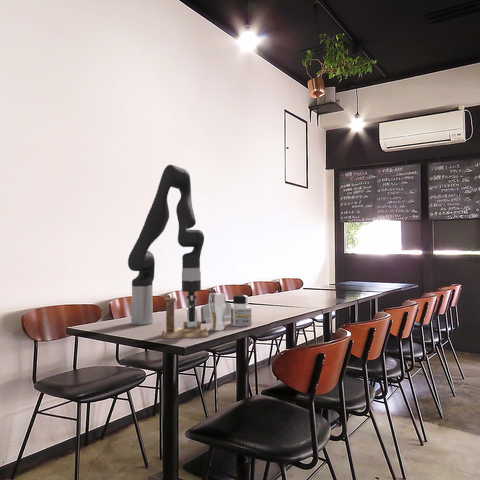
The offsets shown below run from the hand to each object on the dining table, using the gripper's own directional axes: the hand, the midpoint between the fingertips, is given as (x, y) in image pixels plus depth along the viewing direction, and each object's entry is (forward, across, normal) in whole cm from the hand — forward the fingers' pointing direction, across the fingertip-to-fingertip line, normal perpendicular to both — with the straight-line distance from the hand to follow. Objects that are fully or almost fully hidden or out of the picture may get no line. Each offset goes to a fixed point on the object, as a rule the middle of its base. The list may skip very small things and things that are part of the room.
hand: (191, 319), depth 165 cm
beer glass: (+6, -6, +11) cm, 13 cm away
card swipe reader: (+6, -29, +13) cm, 32 cm away
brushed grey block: (+4, 0, 0) cm, 4 cm away
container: (+6, -16, +22) cm, 28 cm away
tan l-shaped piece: (+5, 0, -2) cm, 6 cm away
